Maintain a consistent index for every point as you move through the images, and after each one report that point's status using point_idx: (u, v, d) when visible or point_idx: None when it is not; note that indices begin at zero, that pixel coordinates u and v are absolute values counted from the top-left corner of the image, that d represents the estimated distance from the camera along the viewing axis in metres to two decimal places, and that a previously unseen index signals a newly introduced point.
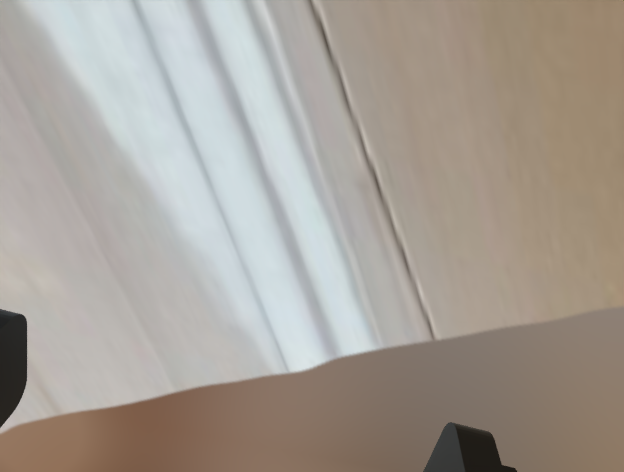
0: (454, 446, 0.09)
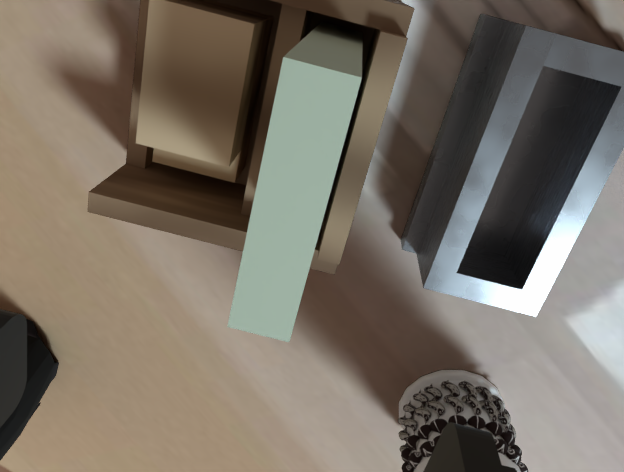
0: (454, 446, 0.09)
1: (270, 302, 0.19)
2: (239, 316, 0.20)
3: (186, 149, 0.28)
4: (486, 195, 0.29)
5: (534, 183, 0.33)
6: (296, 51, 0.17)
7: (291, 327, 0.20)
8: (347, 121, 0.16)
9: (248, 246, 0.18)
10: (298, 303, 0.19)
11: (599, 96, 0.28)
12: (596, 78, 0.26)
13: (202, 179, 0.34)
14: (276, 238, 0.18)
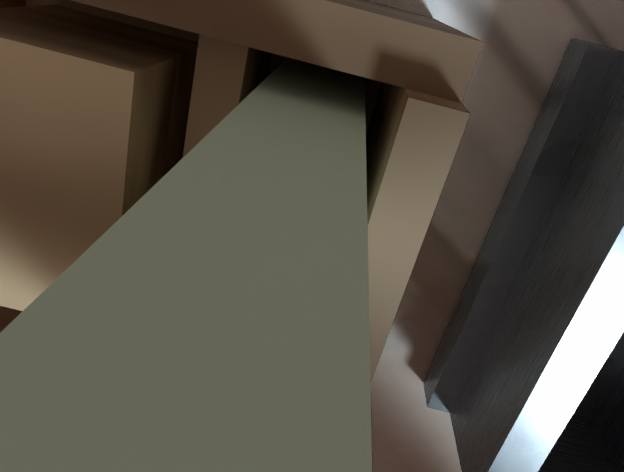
0: None
1: None
2: None
3: (29, 302, 0.15)
4: (592, 374, 0.16)
5: None
6: (93, 272, 0.04)
7: None
8: None
9: None
10: None
11: None
12: None
13: None
14: None
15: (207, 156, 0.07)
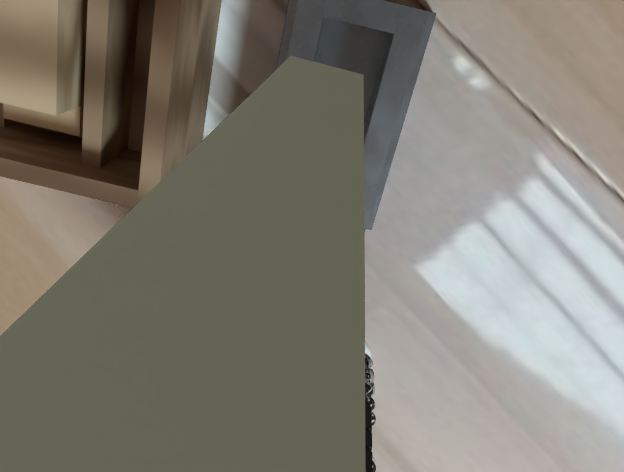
0: None
1: None
2: None
3: (16, 100, 0.31)
4: None
5: None
6: (91, 278, 0.04)
7: None
8: None
9: None
10: None
11: (388, 46, 0.31)
12: (371, 26, 0.29)
13: (59, 137, 0.37)
14: None
15: (205, 160, 0.07)
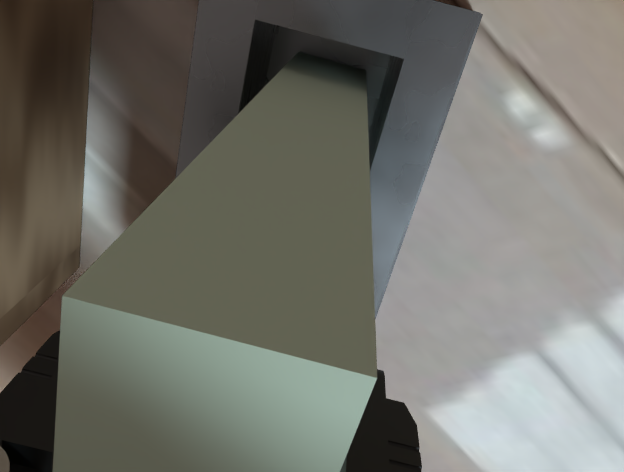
0: None
1: None
2: None
3: None
4: None
5: None
6: (167, 210, 0.05)
7: None
8: None
9: None
10: None
11: (391, 80, 0.16)
12: (355, 43, 0.14)
13: None
14: None
15: (237, 134, 0.08)
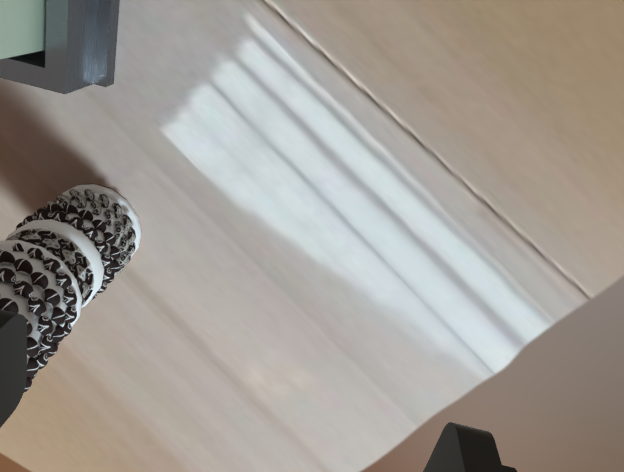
0: (454, 446, 0.09)
1: None
2: None
3: None
4: None
5: None
6: None
7: None
8: None
9: None
10: None
11: None
12: None
13: None
14: None
15: None
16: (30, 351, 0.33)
